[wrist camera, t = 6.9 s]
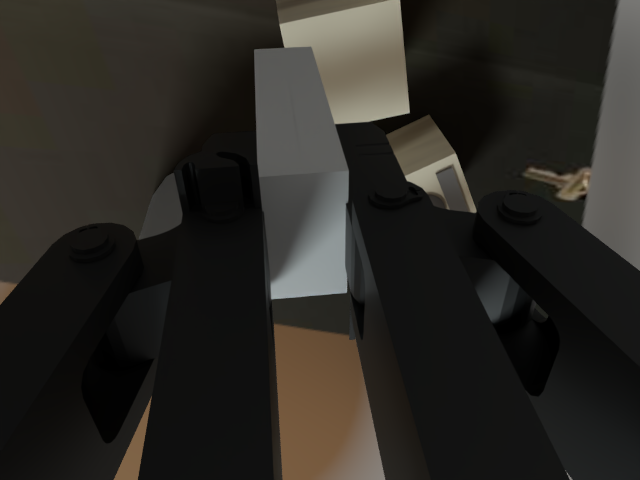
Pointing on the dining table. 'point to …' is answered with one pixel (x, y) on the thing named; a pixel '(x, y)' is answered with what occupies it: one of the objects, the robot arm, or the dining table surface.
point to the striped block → (431, 164)
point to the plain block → (352, 53)
